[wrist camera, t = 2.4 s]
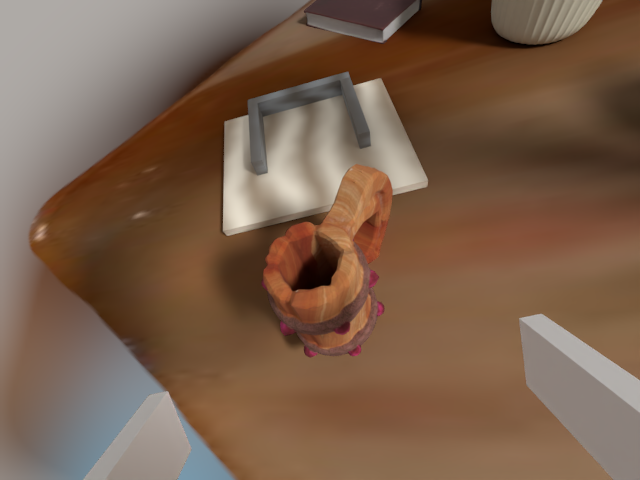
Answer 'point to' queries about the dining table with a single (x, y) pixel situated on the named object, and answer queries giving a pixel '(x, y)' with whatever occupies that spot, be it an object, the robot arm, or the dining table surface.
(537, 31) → the canister
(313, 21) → the book
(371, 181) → the mug
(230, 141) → the notched board
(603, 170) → the dining table surface
